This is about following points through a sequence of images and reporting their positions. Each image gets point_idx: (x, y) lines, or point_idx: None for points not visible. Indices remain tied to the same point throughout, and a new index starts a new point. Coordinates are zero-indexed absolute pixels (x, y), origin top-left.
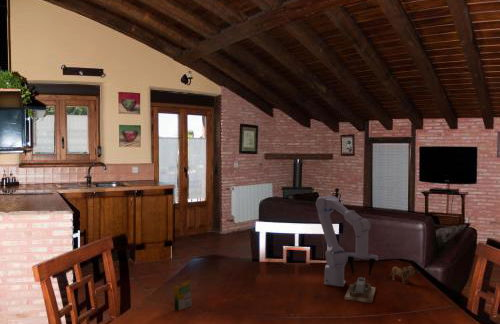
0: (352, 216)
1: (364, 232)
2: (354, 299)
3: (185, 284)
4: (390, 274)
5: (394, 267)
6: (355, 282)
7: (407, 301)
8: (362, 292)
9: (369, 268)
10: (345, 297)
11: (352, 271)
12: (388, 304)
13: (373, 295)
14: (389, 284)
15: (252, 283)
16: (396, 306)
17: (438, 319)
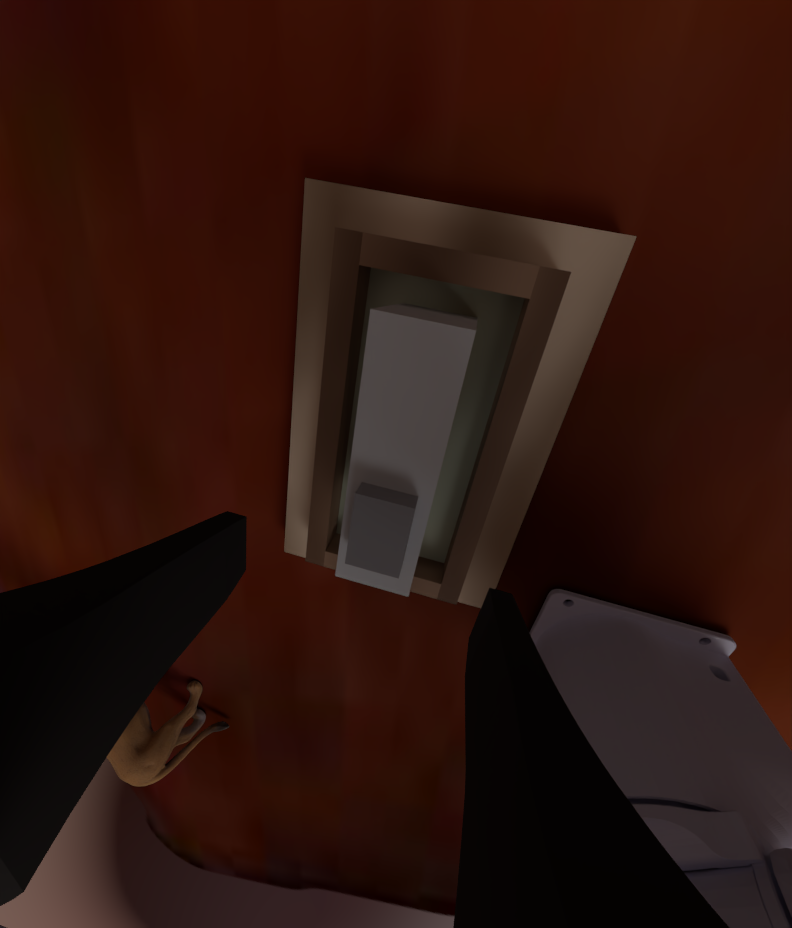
0: None
1: None
2: (508, 218)
3: None
4: (206, 735)
5: (136, 775)
6: (443, 594)
7: (50, 317)
8: (398, 304)
9: (137, 577)
10: (622, 236)
11: (509, 612)
12: (168, 189)
13: (295, 350)
14: (213, 628)
15: None
16: (95, 145)
17: None
